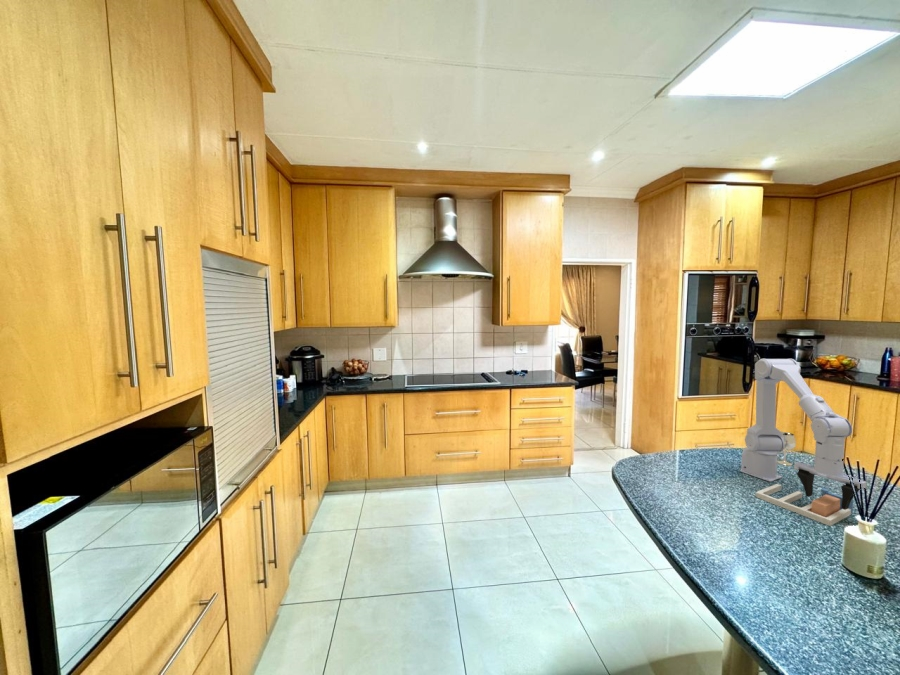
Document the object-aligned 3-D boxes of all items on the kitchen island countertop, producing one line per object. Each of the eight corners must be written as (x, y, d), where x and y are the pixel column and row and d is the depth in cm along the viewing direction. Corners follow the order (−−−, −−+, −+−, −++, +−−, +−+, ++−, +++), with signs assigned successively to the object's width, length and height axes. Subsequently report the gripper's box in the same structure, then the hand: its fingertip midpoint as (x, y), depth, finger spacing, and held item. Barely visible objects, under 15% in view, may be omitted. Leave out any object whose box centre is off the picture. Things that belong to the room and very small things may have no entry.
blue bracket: (820, 504, 109) (821, 489, 109) (822, 502, 110) (823, 488, 110) (849, 514, 103) (850, 499, 103) (852, 513, 104) (853, 497, 104)
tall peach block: (811, 515, 103) (812, 501, 103) (825, 508, 107) (826, 494, 107) (825, 521, 101) (826, 506, 100) (839, 513, 104) (840, 499, 104)
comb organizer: (755, 496, 114) (755, 492, 114) (776, 488, 119) (776, 483, 119) (830, 526, 98) (830, 520, 98) (850, 514, 103) (851, 509, 103)
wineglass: (798, 466, 135) (800, 436, 134) (781, 465, 136) (782, 435, 135) (787, 460, 141) (788, 431, 140) (770, 459, 142) (772, 430, 141)
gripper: (790, 451, 108) (787, 493, 109) (859, 469, 94) (856, 518, 95) (801, 447, 111) (799, 488, 111) (870, 464, 97) (867, 511, 98)
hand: (826, 501), depth 104 cm, fingers open, 7 cm apart
